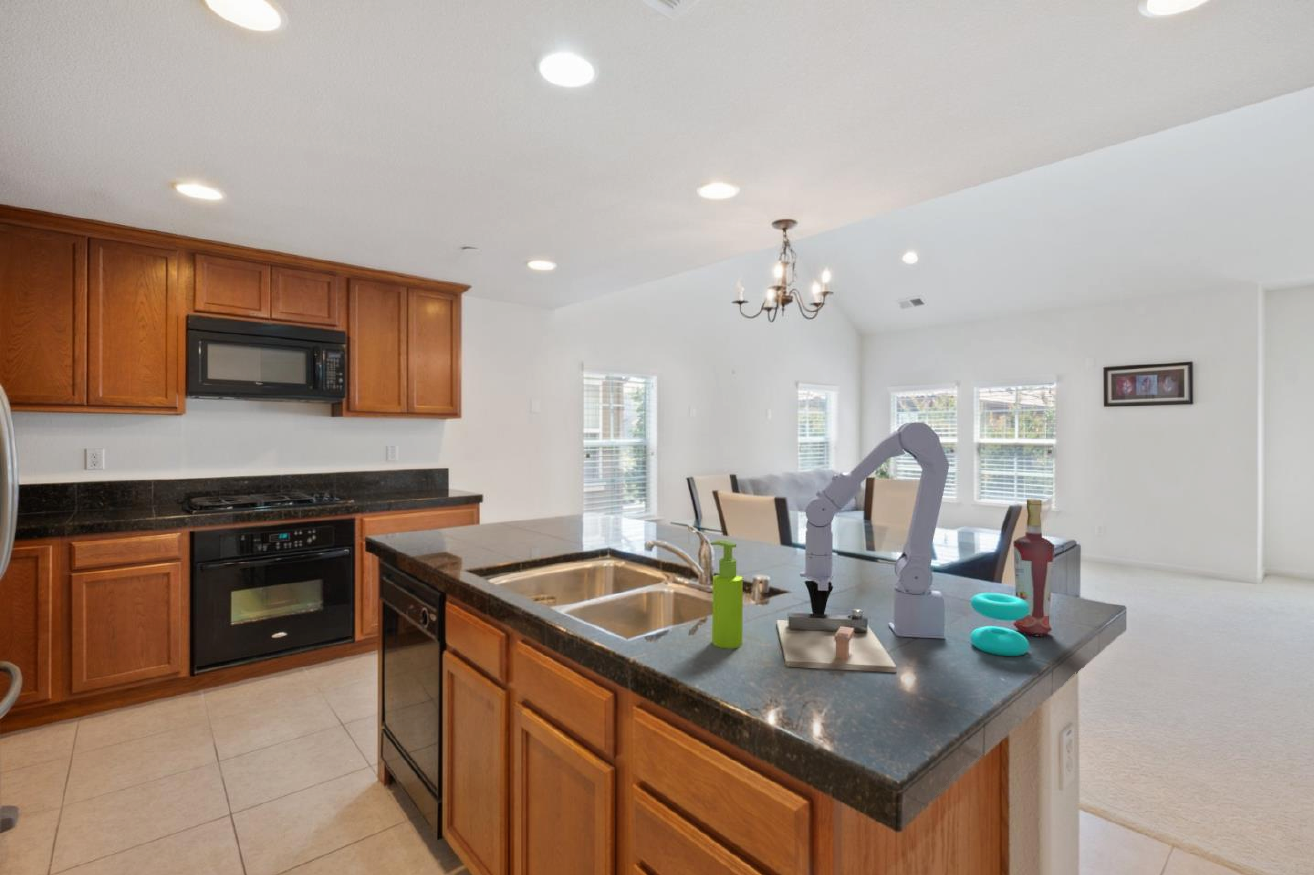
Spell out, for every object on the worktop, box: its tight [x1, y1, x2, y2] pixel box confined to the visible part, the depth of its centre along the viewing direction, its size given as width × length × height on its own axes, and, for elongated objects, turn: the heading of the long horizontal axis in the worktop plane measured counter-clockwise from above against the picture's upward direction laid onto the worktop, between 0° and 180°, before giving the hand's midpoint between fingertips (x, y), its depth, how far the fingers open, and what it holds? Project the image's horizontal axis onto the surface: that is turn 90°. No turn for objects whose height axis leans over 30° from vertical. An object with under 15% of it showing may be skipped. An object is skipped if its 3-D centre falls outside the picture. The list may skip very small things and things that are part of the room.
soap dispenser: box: [709, 540, 744, 649], centre depth 123 cm, size 6×7×20 cm
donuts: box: [969, 592, 1030, 657], centre depth 120 cm, size 10×10×10 cm
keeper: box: [834, 626, 854, 660], centre depth 115 cm, size 6×2×4 cm, turn 153°
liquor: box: [1013, 498, 1055, 637], centre depth 130 cm, size 7×7×28 cm
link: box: [787, 608, 869, 633], centre depth 128 cm, size 16×4×4 cm, turn 83°
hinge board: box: [776, 619, 897, 673], centre depth 121 cm, size 19×24×1 cm
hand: (818, 615), depth 135 cm, fingers closed
